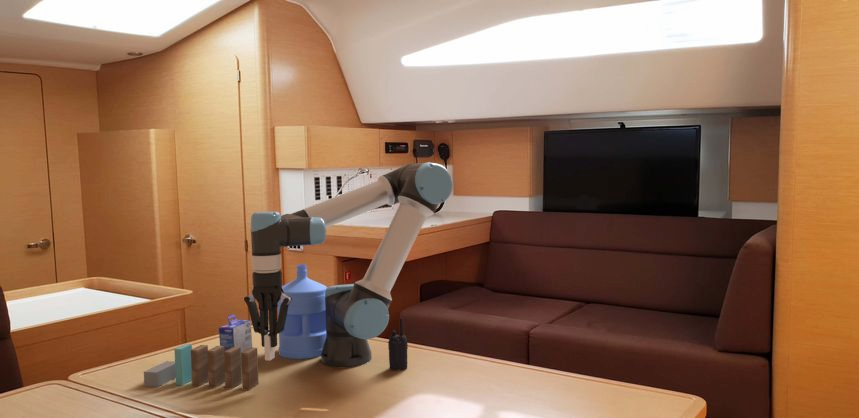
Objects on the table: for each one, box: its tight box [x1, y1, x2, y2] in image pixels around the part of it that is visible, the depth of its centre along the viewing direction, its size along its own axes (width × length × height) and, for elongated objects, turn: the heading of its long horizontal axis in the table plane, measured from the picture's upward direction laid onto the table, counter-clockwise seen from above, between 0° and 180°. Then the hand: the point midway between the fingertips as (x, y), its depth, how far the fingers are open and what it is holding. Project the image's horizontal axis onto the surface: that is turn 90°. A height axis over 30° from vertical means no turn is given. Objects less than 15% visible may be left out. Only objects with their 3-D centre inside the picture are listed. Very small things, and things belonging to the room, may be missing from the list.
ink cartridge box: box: [218, 314, 253, 366], centre depth 198 cm, size 10×6×14 cm, turn 164°
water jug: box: [277, 264, 328, 360], centre depth 207 cm, size 16×16×28 cm
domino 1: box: [191, 344, 209, 388], centre depth 180 cm, size 2×5×10 cm, turn 166°
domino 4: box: [241, 347, 259, 391], centre depth 176 cm, size 2×5×10 cm, turn 166°
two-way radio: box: [388, 317, 408, 371], centre depth 188 cm, size 6×4×15 cm
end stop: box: [143, 360, 176, 388], centre depth 183 cm, size 4×10×4 cm, turn 166°
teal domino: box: [174, 343, 193, 387], centre depth 181 cm, size 2×5×10 cm, turn 166°
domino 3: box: [224, 347, 242, 390], centre depth 178 cm, size 2×5×10 cm, turn 166°
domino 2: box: [207, 345, 225, 389], centre depth 179 cm, size 2×5×10 cm, turn 166°
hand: (269, 358), depth 175 cm, fingers closed
